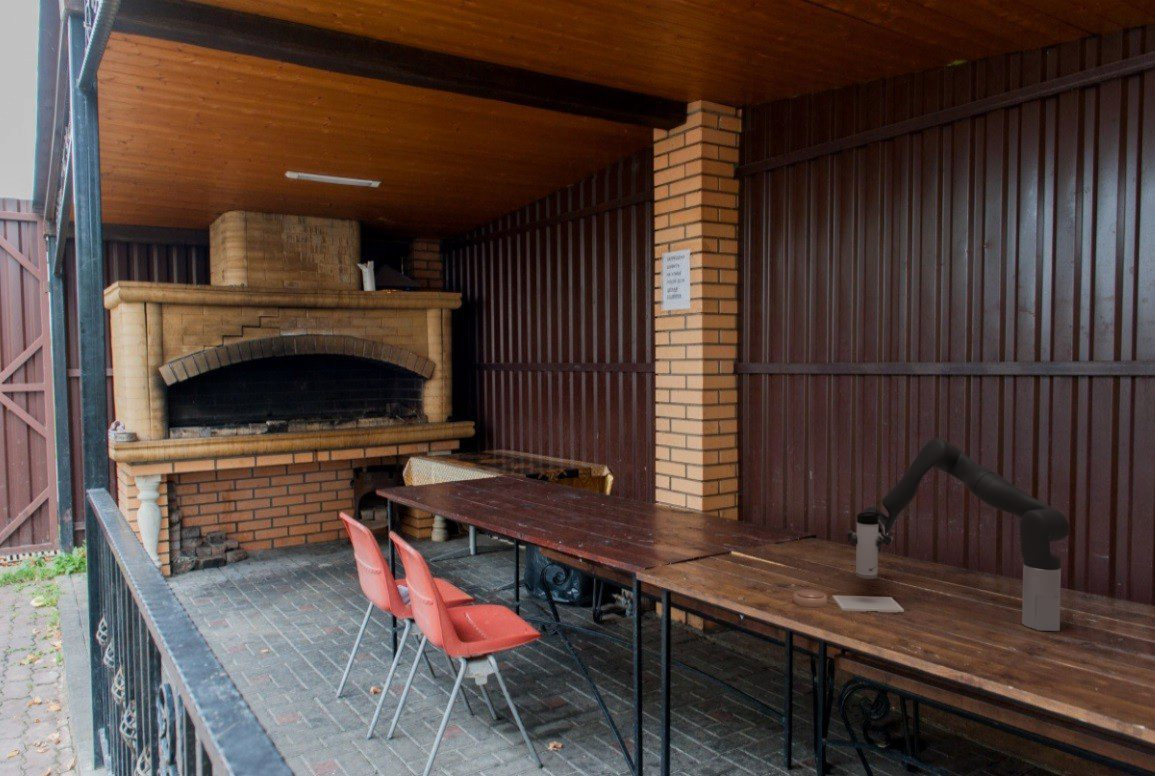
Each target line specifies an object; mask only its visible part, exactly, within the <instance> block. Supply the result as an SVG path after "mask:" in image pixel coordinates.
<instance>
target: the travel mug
mask: <svg viewBox="0 0 1155 776" xmlns="http://www.w3.org/2000/svg"><path fill="white" fill-rule="evenodd" d="M878 516H880V513H878V512H877V513H876V512H864V513H862V512H860V513H858V514H857V516H856V518H857V519H856V531H857V544H856V545H855V546H856V547H855V548H856V549H855V550H856V554H855V576H857V577H859V578H860V579H868V580H869V579H870V580H872V579H876V578H878V570H879V569H878V567H879V565H878V563H879V561H878V560H879V559H878V558H879V547H877V539H878Z"/></svg>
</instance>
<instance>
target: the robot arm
mask: <svg viewBox="0 0 1155 776" xmlns="http://www.w3.org/2000/svg"><path fill="white" fill-rule="evenodd" d="M933 467H934V468H936V469H937V470H939V471H942V472H945V473H947V474H948V475H950V476H952V477H955V478H956V479H958V480H959V481H960V482H962V483H963V484H964V485H965V487H966V488H967V490H969V492H970V493H972V494H973V495H974V496H975V497H976V498H978V499H980V500H981V501H982V502H984V503H985V504H987V505H988V506H989V507H992V508H995V509H996V510H999V511H1002V512H1005V513H1008V514H1012V515H1014V516H1017V517H1019V518H1021V519H1020V522H1019V523H1020V524H1019V541H1020V542H1019V543H1020V554H1021V555H1022V559H1023V563H1022V564H1023V565H1022V566H1023V567H1022V568H1023V570H1022V602H1021V603H1022V604H1021V605H1022V610H1021V611H1022V614H1021V618H1022V620H1021V624H1022V625H1023V626H1025V627H1027V628H1029V629H1034V630H1036V631H1045V632H1060V630H1061V628H1060V627H1061V600H1062V599H1061V579H1062V578H1061V576H1062V573H1061V571H1062V560H1061V558H1060V557H1059V556H1058V555H1055V554H1053V553H1052V552H1051V550H1050V549H1051V547H1050V543H1054V542H1058V541H1062V540H1064V539H1066V538H1067V537H1068V536H1069V534H1070V531H1071V526H1070V522H1069V521H1068V519H1067V517H1066V516H1065V515H1064V514H1063V513H1062V512H1060V511H1059V510H1058V509H1056V508H1054V507H1052V506H1051V505H1048V504H1046V503H1045V502H1042V501H1040V500H1038V499H1036V498H1034V497H1033V496H1031V495H1029V494H1028V493H1027V492H1025V491H1023V490H1022V489H1021V488H1019V487H1017V486H1016V485H1014V484H1013V483H1011V482H1010V481H1008V480H1007V479H1006V478H1004V477H1003V476H1001V475H1000V474H998V473H997V472H995V471H993V470H991V469H989V468H987V467H985V466H984V465H981V464H979V463H976V462H975V461H974V460H972V459H971V458H970V457H969V456H968V455H967V454H965V453H964V452H963V451H962V450H960V448H958V447H957V446H956V445H954V444H952V443H950V442H948V441H947V440H945V439H943V438H939V437H936V438H935V437H934V438H932V439H930V440H928V441H927V442H926V443H925V445H924V446H923V447H922V449H920V451H919V452H918V454H917V456H916V457H915V459H914V460H913V461H912V463H911V464H910V466H909V467H908V468H907V471H906V472H905V473H904V475H903V476H902V477H901V479H900V480H898V482H897V483H896V484H895V486H893V488H892V489H891V490H890V491H889V492H888V493H887V494H886V495H885V496H884V497H883V498H882V500H881V504H882V507H884V508H885V510H886V511H887V513H888V516H887V515H886V514H884V513H883V512H882V511H881V510H879V508H877V507H875V506H869V507H866V508H865V509H864V510H863V511H862V512H861V513H864V512H876V513H877V512H878V513H880V516H878V539H877V547H878V548H881V546H884V544H885V545H886V546H890V545H891V544H892V543H893V542H894V541H893V540H894V538H893V537H894V533H890V532H891V530H892V528H893V526H894V524H895V522H896V520H897V518H898V517H899V515H900V513H902V512H903V510H905V508H907V506H908V505H909V504H910V503H912V501H913V499H914V498H915V497H916V495H917V493H918V489H919V487H920V485H921V481H922V480H923V478H924V477H925V475H926V474H927V472H928V471H930V470H931V469H932V468H933ZM846 541H847V542H849V543H850V542H851V543H852V544H853V545H855V546H856V544H857V530H856V531H855V532H853V530H851V529H847V530H846Z"/></svg>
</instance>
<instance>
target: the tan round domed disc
mask: <svg viewBox="0 0 1155 776" xmlns="http://www.w3.org/2000/svg"><path fill="white" fill-rule="evenodd" d="M793 603H794V604H796V605H798V606H800V607H806V608H823V607H826V606H827V605H828V595H827V594H826V593H824V592H822V591H820V590H818V589H817V590H816V589H813V588H812V589H811V588H810V589H809V588H806V589H805V588H804V589H798V590H796V591H794V592H793Z"/></svg>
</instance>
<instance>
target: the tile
mask: <svg viewBox="0 0 1155 776" xmlns="http://www.w3.org/2000/svg"><path fill="white" fill-rule="evenodd" d="M832 600H833V601H834V602H835V603H836V604H837V606H838V607H839V608H840V610H841V611H842V612H866V611H878V612H877V613H898V612H904V613H905V609H904V608H903V607H902V606H901V605H900V604H899V603H898V602H897V601H896V600H894V599H893V597H891V596H866V595H865V596H864V595H863V596H862V595H832Z"/></svg>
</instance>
